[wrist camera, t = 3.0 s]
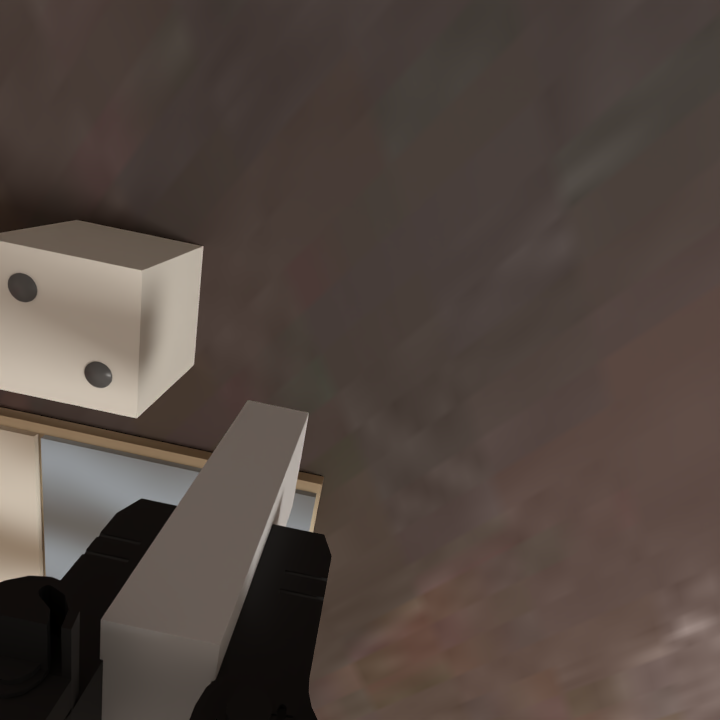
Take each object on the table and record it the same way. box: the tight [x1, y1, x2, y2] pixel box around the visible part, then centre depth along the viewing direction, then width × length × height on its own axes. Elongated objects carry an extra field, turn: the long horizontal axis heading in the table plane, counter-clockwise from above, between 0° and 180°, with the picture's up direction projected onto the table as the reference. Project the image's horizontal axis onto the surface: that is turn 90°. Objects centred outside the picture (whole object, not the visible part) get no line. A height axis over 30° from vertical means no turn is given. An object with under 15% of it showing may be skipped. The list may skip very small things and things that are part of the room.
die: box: [0, 220, 203, 418], centre depth 19 cm, size 5×5×5 cm
